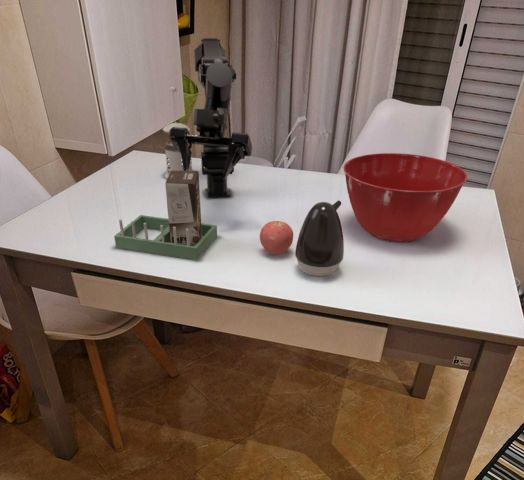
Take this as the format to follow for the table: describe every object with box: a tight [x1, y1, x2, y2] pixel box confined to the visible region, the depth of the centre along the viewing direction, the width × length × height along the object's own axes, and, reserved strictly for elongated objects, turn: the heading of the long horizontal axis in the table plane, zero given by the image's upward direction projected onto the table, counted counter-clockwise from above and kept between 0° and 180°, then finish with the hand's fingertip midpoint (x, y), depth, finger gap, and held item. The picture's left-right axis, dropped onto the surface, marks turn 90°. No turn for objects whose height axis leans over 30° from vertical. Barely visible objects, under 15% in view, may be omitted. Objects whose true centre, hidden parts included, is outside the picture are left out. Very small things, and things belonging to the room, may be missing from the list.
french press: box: [162, 86, 193, 179], centre depth 150 cm, size 10×12×25 cm
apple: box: [259, 220, 294, 256], centre depth 112 cm, size 7×7×8 cm
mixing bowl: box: [343, 152, 468, 243], centre depth 121 cm, size 28×28×16 cm
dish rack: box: [113, 214, 218, 261], centre depth 116 cm, size 13×20×7 cm, turn 74°
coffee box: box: [165, 170, 203, 246], centre depth 112 cm, size 9×6×16 cm
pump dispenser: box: [294, 200, 345, 277], centre depth 103 cm, size 10×10×15 cm
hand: (204, 176), depth 114 cm, fingers open, 9 cm apart
